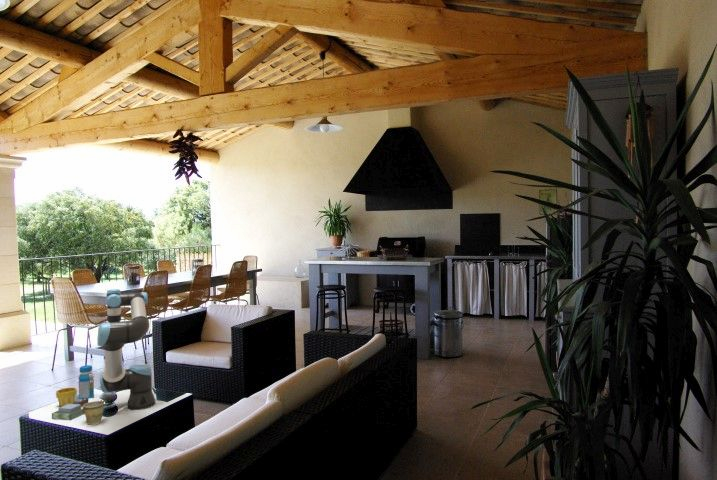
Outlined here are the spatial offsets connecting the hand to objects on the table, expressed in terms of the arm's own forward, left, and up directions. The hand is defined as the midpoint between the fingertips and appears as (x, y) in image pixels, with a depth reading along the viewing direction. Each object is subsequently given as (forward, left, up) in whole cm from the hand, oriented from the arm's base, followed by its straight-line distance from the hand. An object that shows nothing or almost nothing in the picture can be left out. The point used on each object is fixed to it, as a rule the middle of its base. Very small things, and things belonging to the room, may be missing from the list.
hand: (115, 353), depth 292 cm
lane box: (+5, +23, -28) cm, 37 cm away
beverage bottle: (+21, 0, -29) cm, 35 cm away
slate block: (+5, +30, -27) cm, 40 cm away
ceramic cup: (-14, +33, -29) cm, 46 cm away
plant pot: (+22, +14, -29) cm, 39 cm away
